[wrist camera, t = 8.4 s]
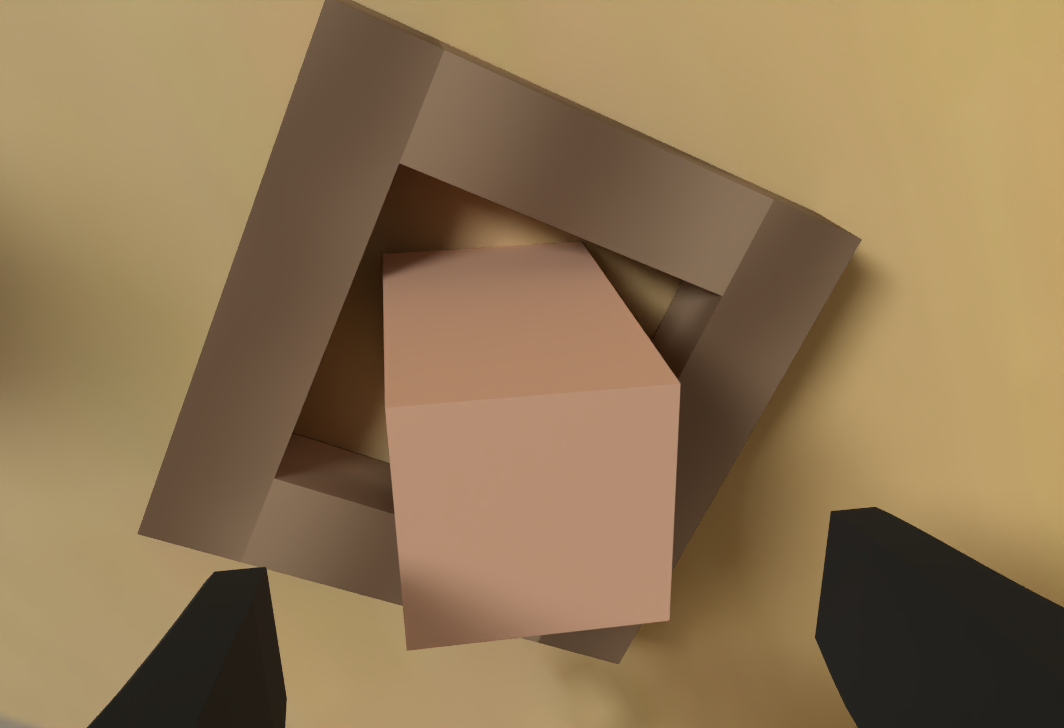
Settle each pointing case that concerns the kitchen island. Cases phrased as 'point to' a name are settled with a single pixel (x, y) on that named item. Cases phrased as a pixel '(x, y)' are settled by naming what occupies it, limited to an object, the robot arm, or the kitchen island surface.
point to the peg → (525, 446)
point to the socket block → (509, 180)
